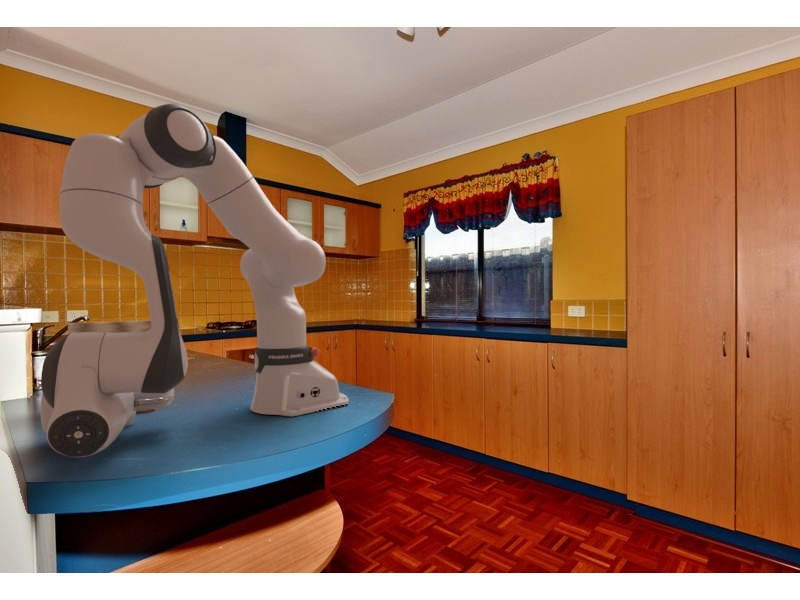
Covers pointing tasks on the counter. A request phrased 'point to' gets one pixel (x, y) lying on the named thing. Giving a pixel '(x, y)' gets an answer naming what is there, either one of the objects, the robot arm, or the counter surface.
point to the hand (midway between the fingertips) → (119, 390)
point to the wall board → (110, 327)
